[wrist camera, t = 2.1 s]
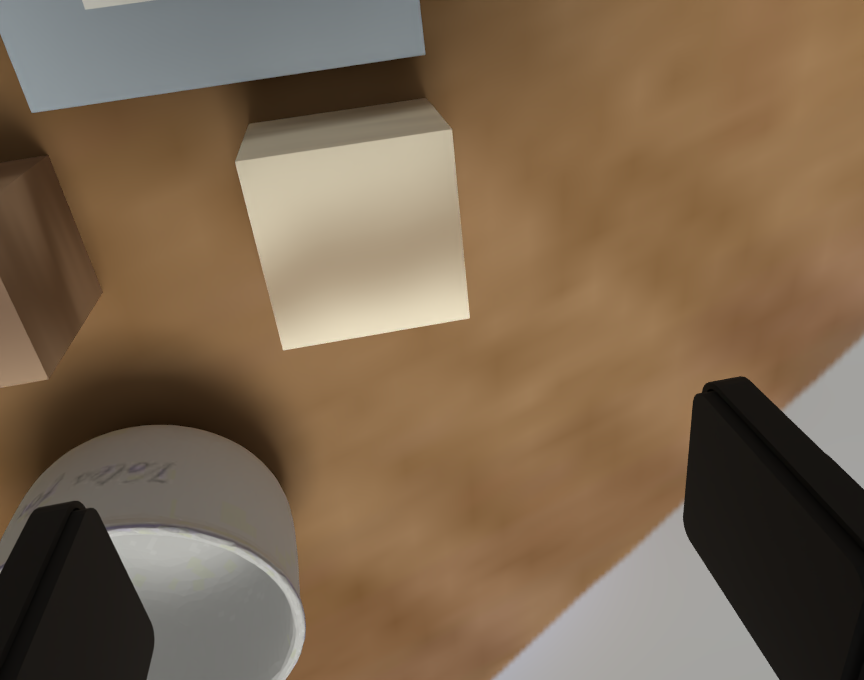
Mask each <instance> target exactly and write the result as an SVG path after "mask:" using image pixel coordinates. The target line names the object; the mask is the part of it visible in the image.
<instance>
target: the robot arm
mask: <svg viewBox="0 0 864 680" xmlns="http://www.w3.org/2000/svg"><path fill="white" fill-rule="evenodd" d="M683 522H684V527H685V531H686V534H687V536H688V538H689V540H690V542H691V543H692V545H693V546H694V548H695V549H696V551H697V553H698V554H699V556H700V557H701V559H702V560H703V562H704V563H705V565H706V567H707V568H708V570H709V571H710V573H711V574H712V576H713V577H714V579H715V580H716V582H717V583H718V585H719V587H720V588H721V590H722V591H723V592H724V594H725V596H726V598H727V599H728V601H729V602H730V604H731V605H732V607H733V608H734V610H735V611H736V613H737V615H738V616H739V618H740V619H741V621H742V622H743V624H744V625H745V627H746V628H747V630H748V632H749V633H750V634H751V636H752V638H753V639H754V641H755V642H756V644H757V646H758V647H759V649H760V650H761V652H762V653H763V655H764V656H765V658H766V659H767V661H768V662H769V664H770V666H771V667H772V669H773V670H774V672H775V673H776V675H777V677H778V678H779V680H864V489H863V488H861V486H859V484H857V483H856V482H855V481H854V480H853V479H852V478H851V477H850V476H849V475H848V474H847V473H846V472H845V471H844V470H843V469H842V468H841V467H840V466H839V465H838V464H837V463H836V462H835V461H834V460H832V458H830V457H829V456H828V455H827V454H825V453H824V452H823V451H822V450H821V449H820V448H819V447H818V446H817V445H816V444H815V443H814V442H813V441H812V440H811V439H810V438H809V437H808V436H807V435H806V434H805V433H804V432H802V430H801V429H799V428H798V427H797V426H796V425H795V424H794V423H793V422H792V421H791V420H790V419H789V418H788V417H787V416H786V415H785V414H784V413H783V412H782V411H781V410H780V409H779V408H778V407H777V406H776V405H775V404H774V403H773V402H772V401H770V400H769V399H768V398H767V397H766V396H765V395H764V394H763V393H762V392H761V391H760V390H759V389H758V388H757V387H756V386H755V385H754V384H753V383H752V382H751V381H750V380H748V379H747V378H746V377H741V376H740V377H735V378H729V379H724V380H718V381H713V382H708V383H706V384H705V386H704V387H703V390H702V393H699V394H696V395H695V397H694V400H693V408H692V420H691V431H690V443H689V455H688V466H687V478H686V489H685V501H684V513H683ZM154 641H155V638H154V630H153V626H152V623H151V621H150V619H149V617H148V614H147V612H146V610H145V608H144V606H143V604H142V602H141V600H140V598H139V596H138V594H137V592H136V590H135V588H134V585H133V583H132V581H131V579H130V577H129V575H128V573H127V571H126V569H125V567H124V565H123V563H122V561H121V559H120V557H119V554H118V552H117V550H116V548H115V546H114V544H113V542H112V540H111V538H110V536H109V534H108V532H107V530H106V528H105V525H104V523H103V521H102V519H101V517H100V515H99V513H98V512H97V510H96V509H94V508H85V506H84V505H83V504H82V503H81V502H80V501H70V502H65V503H59V504H54V505H49V506H43V507H38V508H36V509H35V510H33V512H32V513H31V514H30V516H29V518H28V520H27V522H26V524H25V526H24V528H23V530H22V532H21V534H20V536H19V538H18V539H17V541H16V543H15V545H14V547H13V549H12V551H11V553H10V555H9V557H8V559H7V561H6V563H5V565H4V567H3V569H2V570H1V572H0V680H147V676H148V672H149V668H150V663H151V659H152V655H153V650H154Z"/></svg>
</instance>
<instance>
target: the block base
mask: <svg viewBox="0 0 864 680" xmlns="http://www.w3.org/2000/svg"><path fill="white" fill-rule="evenodd" d="M235 164H236V168H237V172H238V176H239V179H240V183H241V187H242V191H243V195H244V199H245V203H246V207H247V211H248V215H249V219H250V222H251V226H252V230H253V234H254V238H255V242H256V246H257V250H258V254H259V258H260V262H261V265H262V269H263V273H264V277H265V281H266V285H267V289H268V293H269V297H270V301H271V305H272V308H273V312H274V316H275V320H276V324H277V328H278V332H279V336H280V340H281V344H282V347H283V350H288V349H294V348H300V347H306V346H311V345H317V344H323V343H329V342H334V341H340V340H346V339H352V338H358V337H363V336H369V335H375V334H381V333H387V332H392V331H398V330H404V329H410V328H416V327H421V326H427V325H433V324H439V323H444V322H450V321H456V320H462V319H468V318H470V316H469V305H468V295H467V284H466V273H465V263H464V252H463V242H462V231H461V220H460V210H459V199H458V189H457V178H456V168H455V157H454V146H453V136H452V129H451V127H450V126H449V125H448V124H447V123H446V121H445V120H444V119H443V118H442V116H441V115H440V114H439V113H438V112H437V110H436V109H435V108H434V107H433V105H432V104H431V103H430V102H429V101H428V99H427V98H422V99H415V100H408V101H401V102H395V103H388V104H381V105H374V106H367V107H360V108H353V109H347V110H340V111H333V112H326V113H319V114H312V115H306V116H299V117H292V118H285V119H278V120H271V121H265V122H258V123H251V124H249V125H248V127H247V130H246V133H245V136H244V138H243V141H242V144H241V147H240V149H239V152H238V155H237V158H236V160H235Z"/></svg>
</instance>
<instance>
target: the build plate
mask: <svg viewBox="0 0 864 680" xmlns="http://www.w3.org/2000/svg"><path fill="white" fill-rule="evenodd" d="M0 34H1V37H2V39H3V42H4V44H5V47H6V49H7V52H8V55H9V57H10V60H11V62H12V65H13V67H14V70H15V72H16V75H17V77H18V80H19V82H20V85H21V87H22V90H23V92H24V95H25V97H26V100H27V102H28V105H29V107H30V110H31V112H32V113H36V112H42V111H49V110H56V109H63V108H69V107H76V106H83V105H90V104H96V103H103V102H110V101H117V100H123V99H130V98H137V97H144V96H150V95H157V94H164V93H171V92H177V91H184V90H191V89H198V88H204V87H211V86H218V85H225V84H231V83H238V82H245V81H252V80H258V79H265V78H272V77H279V76H285V75H292V74H299V73H306V72H312V71H319V70H326V69H333V68H339V67H346V66H353V65H360V64H366V63H373V62H380V61H386V60H393V59H400V58H407V57H413V56H420V55H425V46H424V37H423V28H422V19H421V11H420V2H419V0H0Z"/></svg>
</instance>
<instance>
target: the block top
mask: <svg viewBox="0 0 864 680" xmlns="http://www.w3.org/2000/svg"><path fill="white" fill-rule="evenodd" d="M102 293H103V292H102V289H101V287H100V284H99V282H98V279H97V277H96V274H95V271H94V269H93V266H92V264H91V261H90V259H89V256H88V254H87V251H86V249H85V246H84V244H83V241H82V239H81V236H80V234H79V231H78V229H77V226H76V224H75V221H74V219H73V216H72V214H71V211H70V209H69V206H68V204H67V201H66V199H65V196H64V194H63V191H62V188H61V186H60V183H59V181H58V178H57V176H56V173H55V171H54V168H53V166H52V163H51V161H50V158H49V156H48V155H45V156H39V157H32V158H26V159H19V160H13V161H6V162H0V388H2V387H8V386H13V385H19V384H25V383H30V382H36V381H42V380H47V379H49V378H50V376H51V375H52V373H53V371H54V370H55V368H56V367H57V365H58V363H59V362H60V360H61V359H62V357H63V355H64V354H65V352H66V351H67V349H68V347H69V346H70V344H71V342H72V341H73V339H74V338H75V336H76V334H77V333H78V331H79V330H80V328H81V326H82V325H83V323H84V322H85V320H86V318H87V317H88V315H89V314H90V312H91V310H92V309H93V307H94V306H95V304H96V302H97V301H98V299H99V298H100V296H101V294H102Z"/></svg>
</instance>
